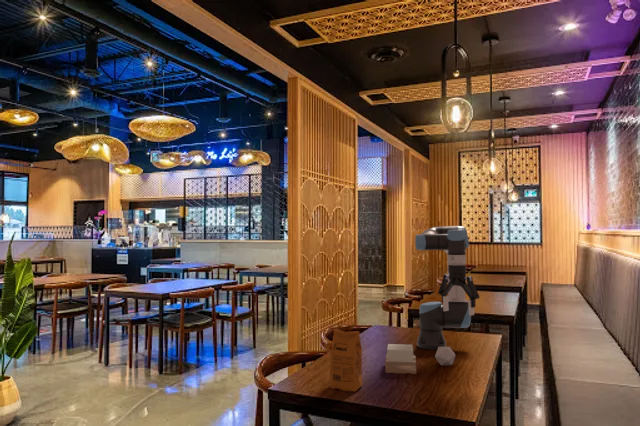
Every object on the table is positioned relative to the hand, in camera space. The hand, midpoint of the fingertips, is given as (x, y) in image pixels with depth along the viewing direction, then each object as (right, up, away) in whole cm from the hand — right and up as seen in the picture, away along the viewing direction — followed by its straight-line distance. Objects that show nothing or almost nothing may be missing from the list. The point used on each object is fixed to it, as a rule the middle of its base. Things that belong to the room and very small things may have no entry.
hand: (458, 312), depth 196 cm
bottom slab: (-25, -26, +1) cm, 36 cm away
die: (-4, -26, +8) cm, 27 cm away
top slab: (-25, -21, +1) cm, 33 cm away
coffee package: (-51, -24, -22) cm, 61 cm away
